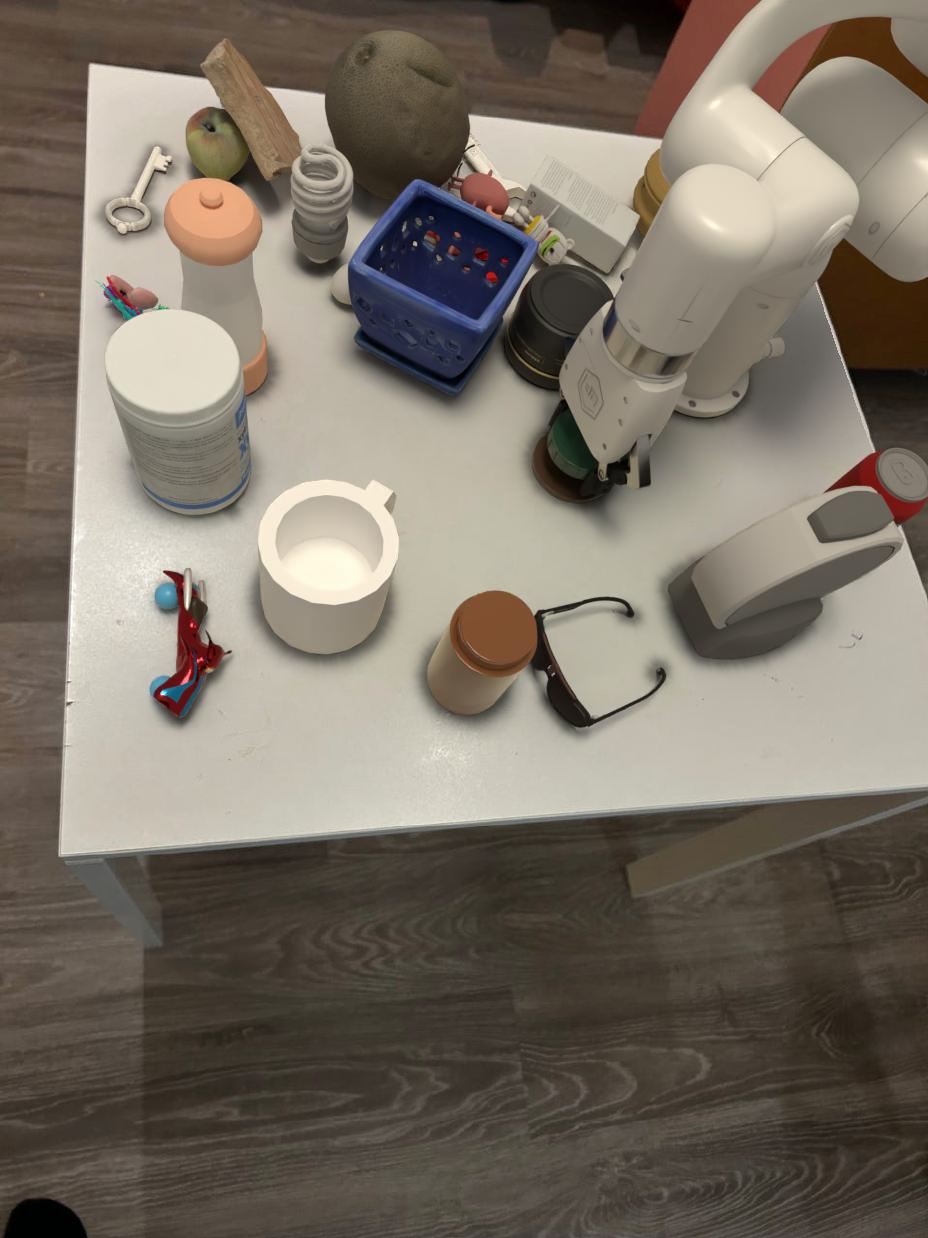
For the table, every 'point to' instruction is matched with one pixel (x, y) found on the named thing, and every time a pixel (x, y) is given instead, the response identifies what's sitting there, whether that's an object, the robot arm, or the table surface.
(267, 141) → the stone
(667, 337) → the robot arm
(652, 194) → the pot
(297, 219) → the light bulb
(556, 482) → the coaster
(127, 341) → the supplement tub
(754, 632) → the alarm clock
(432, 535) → the table surface
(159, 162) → the key
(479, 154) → the wrench
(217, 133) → the apple
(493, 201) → the figurine
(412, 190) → the flower pot
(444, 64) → the cantaloupe
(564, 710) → the sunglasses
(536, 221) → the toy
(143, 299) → the anatomy model
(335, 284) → the egg
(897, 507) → the beverage can
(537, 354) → the jar
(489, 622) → the jam jar
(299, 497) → the mug
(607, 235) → the cosmetic box
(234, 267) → the salt shaker
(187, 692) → the hoverbike
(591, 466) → the lid
